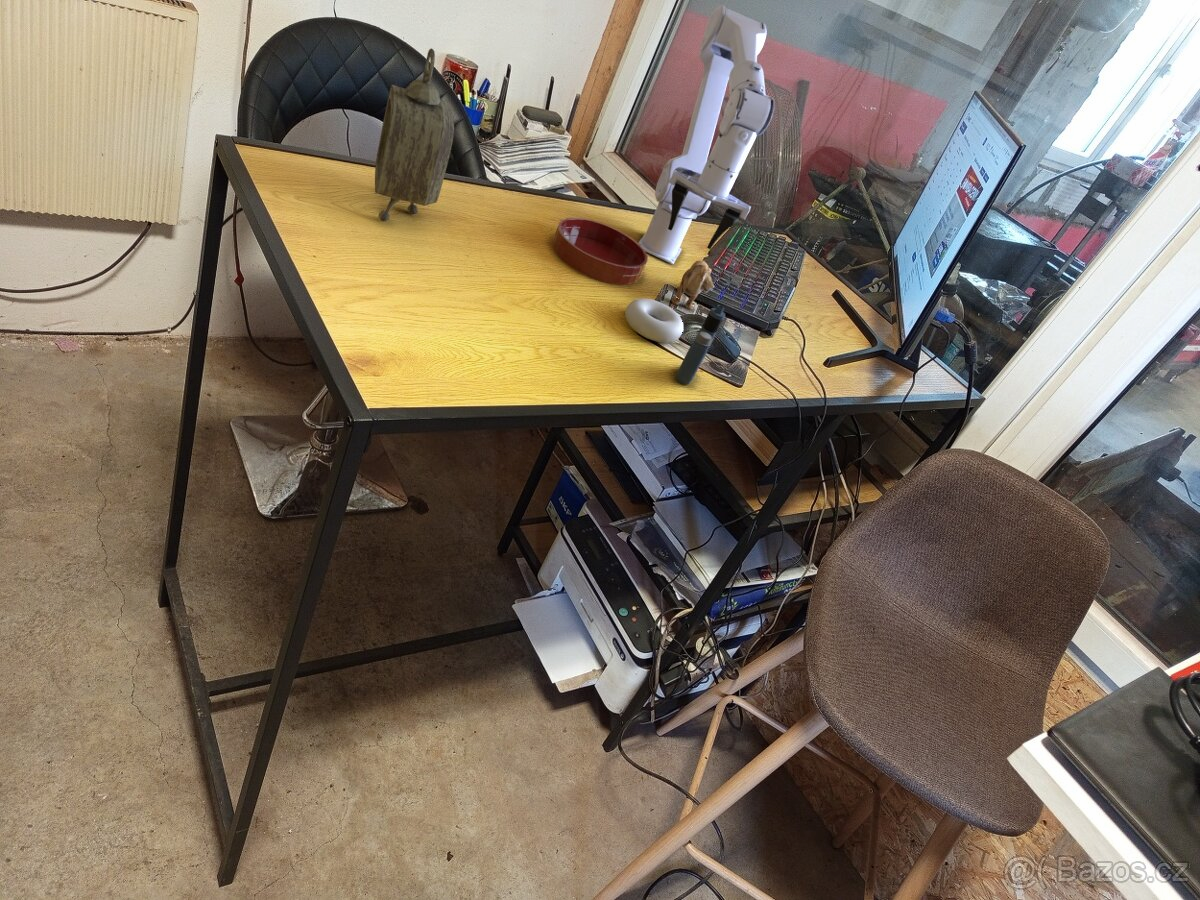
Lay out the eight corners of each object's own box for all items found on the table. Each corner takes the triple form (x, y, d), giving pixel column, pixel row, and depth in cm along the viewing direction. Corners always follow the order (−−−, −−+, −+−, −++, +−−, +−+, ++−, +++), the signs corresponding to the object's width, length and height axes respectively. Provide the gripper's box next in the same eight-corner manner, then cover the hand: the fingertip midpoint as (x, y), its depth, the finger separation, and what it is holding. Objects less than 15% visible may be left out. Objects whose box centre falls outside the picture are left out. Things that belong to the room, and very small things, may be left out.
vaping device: (695, 373, 120) (730, 308, 113) (688, 387, 115) (724, 320, 108) (680, 366, 120) (714, 300, 113) (672, 379, 115) (707, 312, 109)
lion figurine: (697, 322, 134) (720, 277, 129) (669, 310, 134) (691, 265, 129) (698, 288, 146) (719, 246, 141) (673, 277, 146) (693, 234, 141)
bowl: (567, 225, 147) (574, 208, 145) (648, 264, 146) (655, 248, 144) (539, 252, 133) (545, 234, 131) (628, 295, 132) (636, 278, 130)
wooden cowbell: (370, 185, 129) (401, 27, 115) (425, 199, 132) (461, 47, 118) (371, 223, 118) (405, 55, 104) (429, 238, 122) (470, 77, 108)
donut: (616, 329, 122) (675, 354, 122) (624, 311, 120) (683, 336, 120) (627, 305, 130) (682, 328, 130) (634, 287, 128) (690, 311, 128)
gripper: (680, 150, 127) (648, 226, 134) (760, 189, 126) (723, 262, 134) (687, 143, 132) (656, 215, 140) (764, 179, 132) (728, 250, 140)
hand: (689, 237), depth 138 cm, fingers open, 7 cm apart
